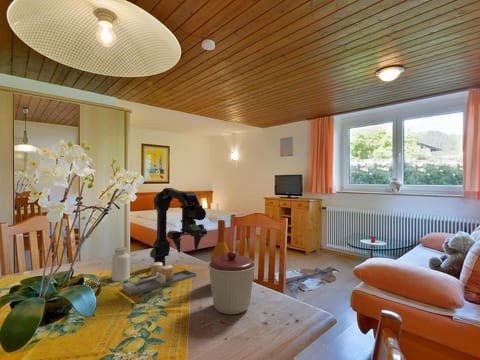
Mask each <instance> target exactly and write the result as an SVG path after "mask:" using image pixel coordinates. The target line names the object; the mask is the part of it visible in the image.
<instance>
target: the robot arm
mask: <svg viewBox="0 0 480 360" xmlns="http://www.w3.org/2000/svg"><path fill="white" fill-rule="evenodd" d="M174 199H176V200H178V202H179V203H180V204H181V205H180V206H179V209H181V219H180V223H181V228H180V231H178V230H169V231H167V217H168V214H167V212H168V210H169V209H170V207H171V202H172V201H173V200H174ZM153 205H154V209H155V210H156V214H157V215H156V216H157V217H156V219H157V220H156V221H157V222H156V223H157V224H156V225H157V226H156V239H155V241H154V243H153V247H152V249H151V251H150V252H149V253H150V254H149V256H150V258H152V259H153V263H155V262H162V263H163V266H165V265H166V257H168V256H169V255H170V250H171V247H170V246H171V243H170V242H171V241H169V240H168V239H170V240H172V242H173V243H174V245H175V249H176V250H177V252H178V253H181V241H182V238H181V237H182V236H183V237H184V236H188V235H190V236H191V237H193V242H194V243H193V246H194V249H195V250H198V247H199V245H200V242H201V240H202V238H203V237H205V236H206V235H207V234H208V230H207V228H206V227H205V225H204V224H197V221H203V220H204V219H206V216H207V212H206V210H205V208H203V205H202V204H201V202H200V201H199V198H198V196H197V193H196V192H194V191H187V192H186V191H182V190H178V189H175V188H172V187H165V188H163V190H161V191H160V192H158V193H156V195H155V196H154V197H153Z"/></svg>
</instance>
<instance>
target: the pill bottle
mask: <svg viewBox="0 0 480 360" xmlns="http://www.w3.org/2000/svg"><path fill="white" fill-rule="evenodd" d="M114 253H115V254H113V255H112V257H111V280H112V281H113V282H124V281H127V280H129V279H130V275H131V255H130V253H128V248H127V247H125V246H122V247H121V246H120V247H116V248H114Z"/></svg>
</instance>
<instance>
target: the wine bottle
mask: <svg viewBox="0 0 480 360" xmlns="http://www.w3.org/2000/svg"><path fill="white" fill-rule="evenodd" d="M217 230H218V234H217V235H218V236H217V241H216V244H215V246H214V249H213V252H212V254H211V258H210V261H211V260H213V259H214V258H217V257H220V256H227V253H228V252H229V251H230V249H229V246H228V245H227V243H226V242H227V241H226V236H225V234H226V233H225V231H226V220H225V219H219V220H218V221H217Z"/></svg>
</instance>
